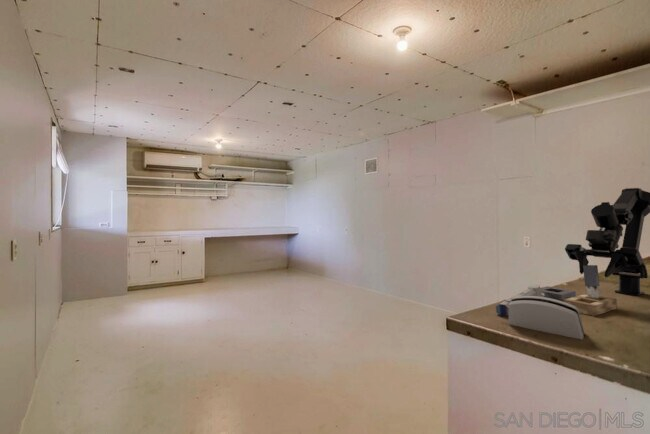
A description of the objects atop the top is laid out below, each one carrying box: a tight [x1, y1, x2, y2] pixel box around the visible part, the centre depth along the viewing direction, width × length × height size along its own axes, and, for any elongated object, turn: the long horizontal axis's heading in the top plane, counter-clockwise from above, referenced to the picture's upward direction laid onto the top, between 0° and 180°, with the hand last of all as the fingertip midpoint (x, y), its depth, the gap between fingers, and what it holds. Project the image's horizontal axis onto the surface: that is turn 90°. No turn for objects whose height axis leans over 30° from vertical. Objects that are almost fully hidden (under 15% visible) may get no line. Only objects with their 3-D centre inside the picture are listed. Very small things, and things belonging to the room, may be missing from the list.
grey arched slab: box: [507, 296, 585, 340], centre depth 87 cm, size 17×5×10 cm, turn 45°
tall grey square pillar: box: [583, 264, 601, 300], centre depth 106 cm, size 3×3×13 cm
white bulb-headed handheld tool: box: [495, 283, 545, 317], centre depth 106 cm, size 5×7×25 cm
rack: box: [564, 293, 618, 317], centre depth 103 cm, size 14×8×3 cm, turn 118°
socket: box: [540, 286, 577, 302], centre depth 115 cm, size 9×9×3 cm
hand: (592, 274), depth 104 cm, fingers open, 6 cm apart
